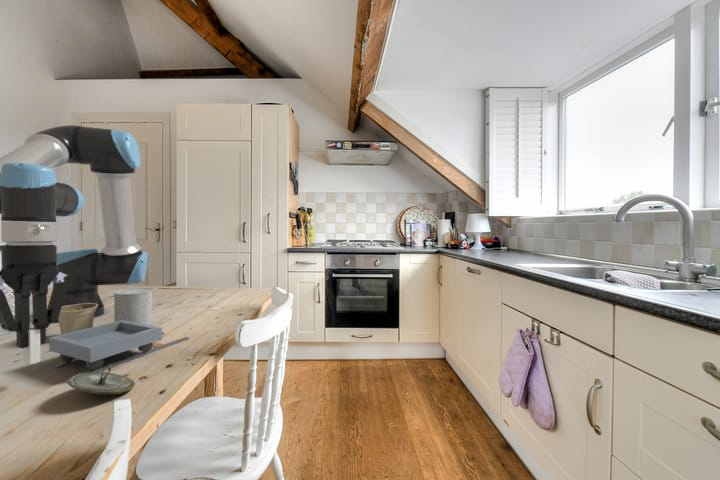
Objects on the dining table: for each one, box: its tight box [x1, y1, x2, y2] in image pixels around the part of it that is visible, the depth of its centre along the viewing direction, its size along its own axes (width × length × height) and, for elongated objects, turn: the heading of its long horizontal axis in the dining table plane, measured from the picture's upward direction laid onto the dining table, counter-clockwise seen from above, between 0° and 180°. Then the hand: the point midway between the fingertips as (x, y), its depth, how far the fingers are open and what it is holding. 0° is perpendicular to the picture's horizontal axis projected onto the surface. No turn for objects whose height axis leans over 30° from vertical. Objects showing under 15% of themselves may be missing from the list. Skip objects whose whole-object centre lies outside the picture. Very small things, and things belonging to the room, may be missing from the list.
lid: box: [66, 366, 136, 395], centre depth 60 cm, size 11×10×5 cm
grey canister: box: [113, 287, 154, 326], centre depth 95 cm, size 10×10×12 cm
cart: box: [48, 320, 163, 370], centre depth 75 cm, size 15×15×6 cm
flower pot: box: [58, 303, 98, 335], centre depth 89 cm, size 9×9×9 cm
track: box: [54, 331, 190, 373], centre depth 80 cm, size 11×25×1 cm, turn 158°
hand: (31, 361), depth 63 cm, fingers closed
